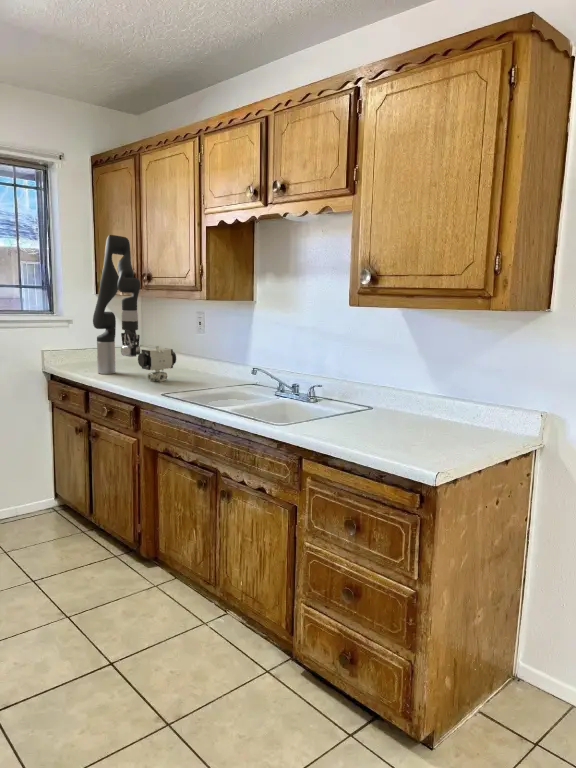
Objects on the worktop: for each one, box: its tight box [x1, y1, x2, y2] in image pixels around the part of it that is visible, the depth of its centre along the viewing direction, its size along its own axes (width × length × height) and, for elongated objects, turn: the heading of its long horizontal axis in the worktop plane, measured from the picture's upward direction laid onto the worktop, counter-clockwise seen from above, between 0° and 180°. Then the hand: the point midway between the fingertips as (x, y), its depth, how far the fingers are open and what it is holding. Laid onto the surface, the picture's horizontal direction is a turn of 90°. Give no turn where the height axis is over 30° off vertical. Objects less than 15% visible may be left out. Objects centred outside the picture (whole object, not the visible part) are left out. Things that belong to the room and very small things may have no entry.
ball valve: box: [137, 345, 177, 383], centre depth 287 cm, size 18×8×18 cm, turn 132°
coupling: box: [120, 344, 141, 358], centre depth 276 cm, size 5×8×5 cm
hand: (130, 355), depth 276 cm, fingers closed on coupling, 5 cm apart
